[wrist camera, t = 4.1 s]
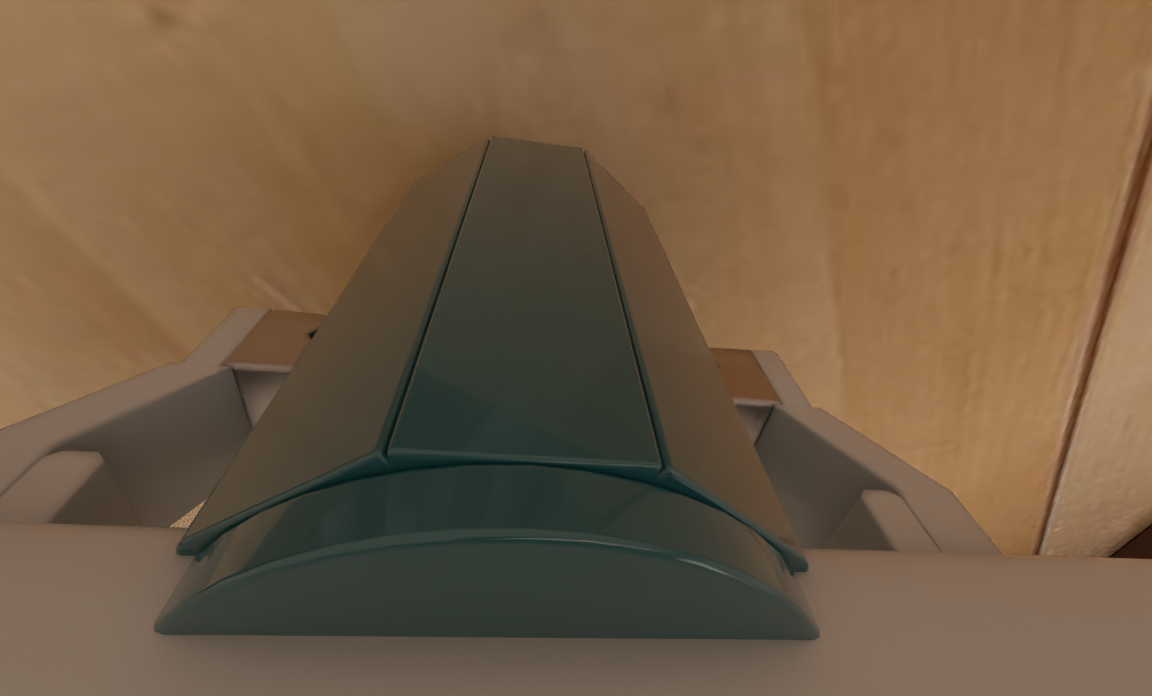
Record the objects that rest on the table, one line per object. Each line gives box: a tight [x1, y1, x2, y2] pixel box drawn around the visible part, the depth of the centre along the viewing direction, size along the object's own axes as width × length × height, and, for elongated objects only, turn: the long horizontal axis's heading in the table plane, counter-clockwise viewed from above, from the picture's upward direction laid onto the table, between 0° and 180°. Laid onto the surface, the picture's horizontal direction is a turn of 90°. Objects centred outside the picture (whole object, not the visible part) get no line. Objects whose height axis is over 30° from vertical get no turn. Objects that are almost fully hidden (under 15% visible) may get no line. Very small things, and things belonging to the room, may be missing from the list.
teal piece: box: [154, 137, 820, 640], centre depth 8 cm, size 6×6×9 cm
